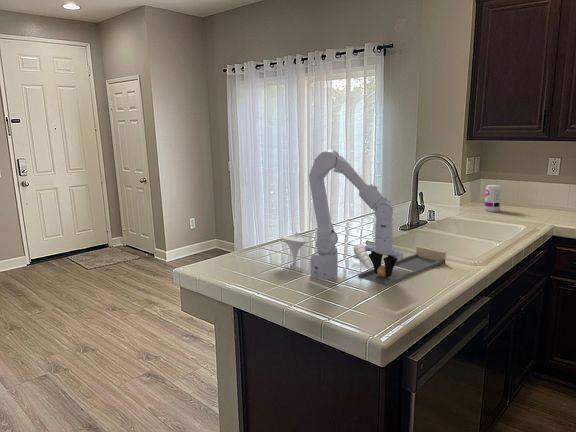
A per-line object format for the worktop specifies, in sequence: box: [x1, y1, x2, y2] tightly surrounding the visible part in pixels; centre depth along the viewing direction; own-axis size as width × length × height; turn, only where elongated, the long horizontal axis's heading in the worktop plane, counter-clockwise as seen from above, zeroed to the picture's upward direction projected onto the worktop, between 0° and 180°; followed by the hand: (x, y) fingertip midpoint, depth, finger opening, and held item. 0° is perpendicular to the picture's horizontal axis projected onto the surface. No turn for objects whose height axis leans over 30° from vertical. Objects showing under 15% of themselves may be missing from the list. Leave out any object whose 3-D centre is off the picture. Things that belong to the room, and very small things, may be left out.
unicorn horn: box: [352, 243, 374, 270], centre depth 169 cm, size 5×24×5 cm, turn 0°
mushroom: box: [280, 231, 308, 263], centre depth 172 cm, size 10×11×12 cm
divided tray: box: [357, 245, 447, 287], centre depth 159 cm, size 36×12×8 cm, turn 130°
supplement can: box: [483, 184, 502, 213], centre depth 258 cm, size 8×8×15 cm
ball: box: [377, 266, 386, 277], centre depth 151 cm, size 4×4×4 cm
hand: (383, 274), depth 152 cm, fingers closed on ball, 4 cm apart
